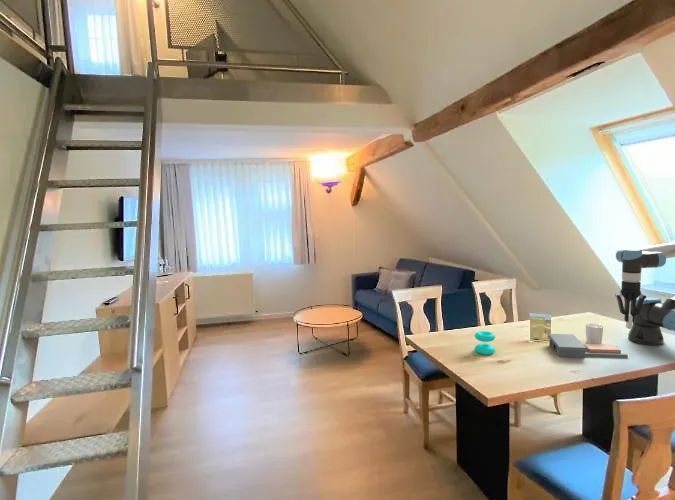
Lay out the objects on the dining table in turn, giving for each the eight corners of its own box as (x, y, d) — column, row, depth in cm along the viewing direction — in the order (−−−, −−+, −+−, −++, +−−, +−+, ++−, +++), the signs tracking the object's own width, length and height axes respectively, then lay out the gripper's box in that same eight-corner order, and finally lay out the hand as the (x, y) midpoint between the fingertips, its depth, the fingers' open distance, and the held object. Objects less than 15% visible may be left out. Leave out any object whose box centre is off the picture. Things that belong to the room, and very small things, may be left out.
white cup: (605, 346, 214) (605, 327, 213) (588, 345, 216) (589, 327, 214) (599, 341, 222) (599, 323, 220) (582, 340, 223) (583, 322, 222)
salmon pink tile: (613, 349, 208) (614, 344, 208) (620, 355, 201) (621, 349, 200) (583, 348, 212) (583, 343, 211) (588, 354, 204) (589, 348, 204)
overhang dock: (613, 345, 214) (613, 335, 213) (631, 360, 194) (631, 349, 194) (548, 343, 221) (548, 333, 220) (559, 358, 202) (559, 346, 201)
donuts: (478, 329, 220) (497, 332, 214) (478, 347, 221) (497, 350, 215) (472, 334, 212) (491, 337, 206) (472, 353, 213) (491, 356, 207)
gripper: (642, 279, 201) (640, 326, 204) (612, 279, 204) (610, 325, 207) (650, 282, 194) (648, 330, 197) (619, 282, 197) (617, 329, 200)
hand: (629, 328), depth 202 cm, fingers closed
